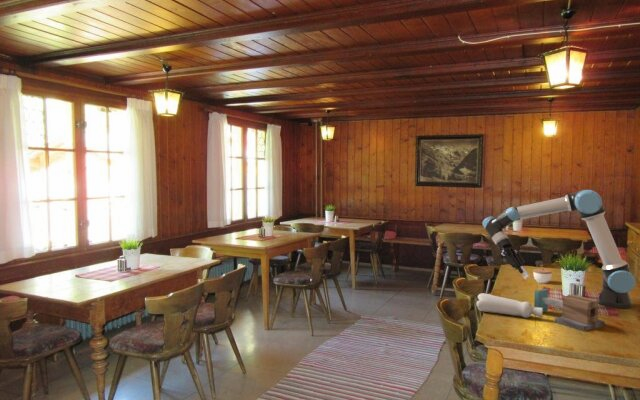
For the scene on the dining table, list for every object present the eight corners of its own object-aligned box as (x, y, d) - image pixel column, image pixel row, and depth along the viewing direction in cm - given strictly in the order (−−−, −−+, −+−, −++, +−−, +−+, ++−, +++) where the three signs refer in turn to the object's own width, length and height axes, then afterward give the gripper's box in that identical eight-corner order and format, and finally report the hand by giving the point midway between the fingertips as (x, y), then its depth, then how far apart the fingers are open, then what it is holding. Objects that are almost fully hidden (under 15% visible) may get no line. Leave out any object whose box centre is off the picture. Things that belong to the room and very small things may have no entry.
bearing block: (575, 317, 227) (576, 293, 226) (604, 325, 215) (605, 300, 214) (554, 322, 219) (555, 297, 218) (583, 331, 207) (584, 304, 206)
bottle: (475, 306, 233) (540, 318, 217) (478, 289, 237) (542, 300, 221) (478, 312, 240) (541, 324, 224) (481, 296, 244) (543, 306, 228)
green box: (544, 309, 237) (545, 288, 237) (578, 319, 221) (579, 297, 221) (534, 312, 233) (534, 290, 233) (568, 322, 218) (568, 299, 217)
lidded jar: (550, 285, 291) (551, 270, 290) (531, 282, 296) (532, 268, 296) (552, 281, 300) (552, 267, 299) (534, 279, 305) (534, 265, 305)
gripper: (506, 244, 260) (531, 280, 246) (489, 246, 253) (514, 283, 240) (514, 236, 255) (540, 272, 241) (498, 238, 248) (523, 275, 235)
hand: (527, 277), depth 240 cm, fingers closed
